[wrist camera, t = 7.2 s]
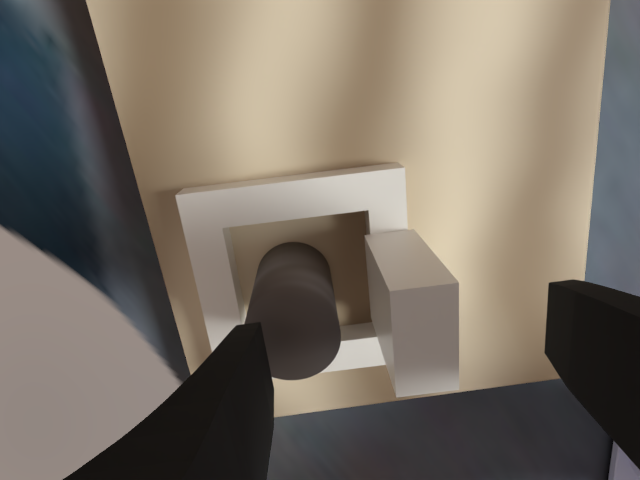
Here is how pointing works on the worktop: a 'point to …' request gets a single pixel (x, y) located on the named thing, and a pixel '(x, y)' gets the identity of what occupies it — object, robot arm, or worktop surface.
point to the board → (368, 161)
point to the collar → (381, 257)
